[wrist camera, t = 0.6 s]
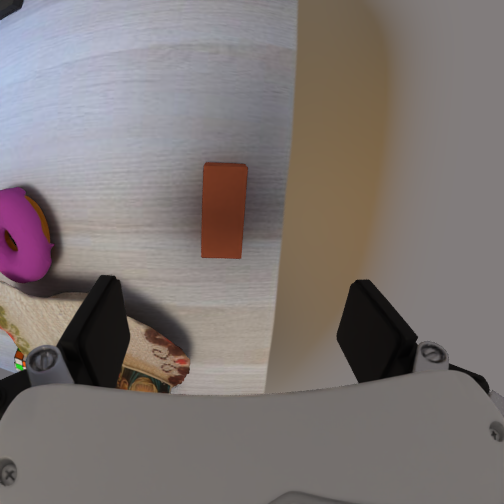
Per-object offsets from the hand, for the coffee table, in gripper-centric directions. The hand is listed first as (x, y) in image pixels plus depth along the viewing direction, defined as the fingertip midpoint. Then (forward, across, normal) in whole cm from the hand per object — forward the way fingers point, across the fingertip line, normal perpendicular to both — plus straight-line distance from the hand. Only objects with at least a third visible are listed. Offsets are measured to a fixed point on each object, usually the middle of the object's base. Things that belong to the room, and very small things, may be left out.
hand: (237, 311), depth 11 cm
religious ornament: (+14, +16, +15) cm, 26 cm away
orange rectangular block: (+16, 0, 0) cm, 16 cm away
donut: (+16, +22, +2) cm, 28 cm away
